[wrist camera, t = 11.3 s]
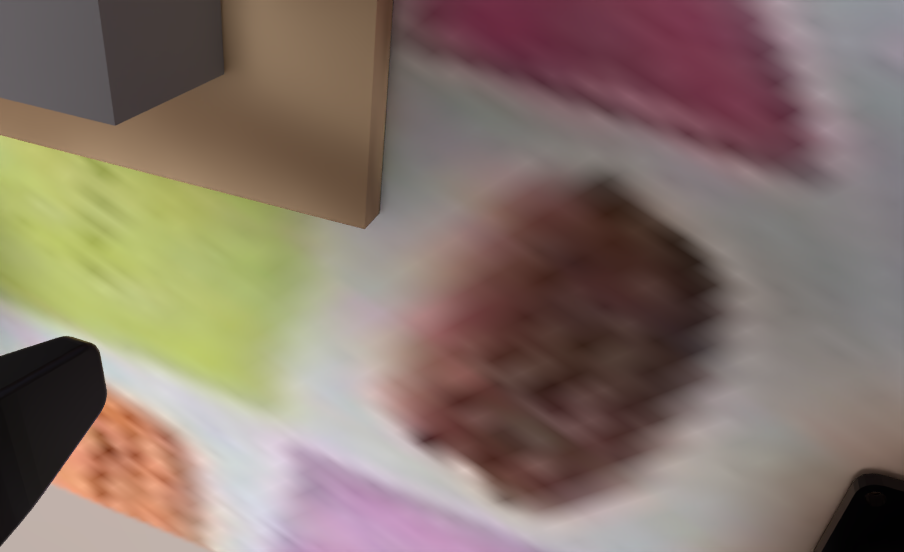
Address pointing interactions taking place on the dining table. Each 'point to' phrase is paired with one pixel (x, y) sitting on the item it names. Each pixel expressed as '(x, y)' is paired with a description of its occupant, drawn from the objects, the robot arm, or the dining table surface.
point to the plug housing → (107, 54)
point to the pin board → (260, 112)
